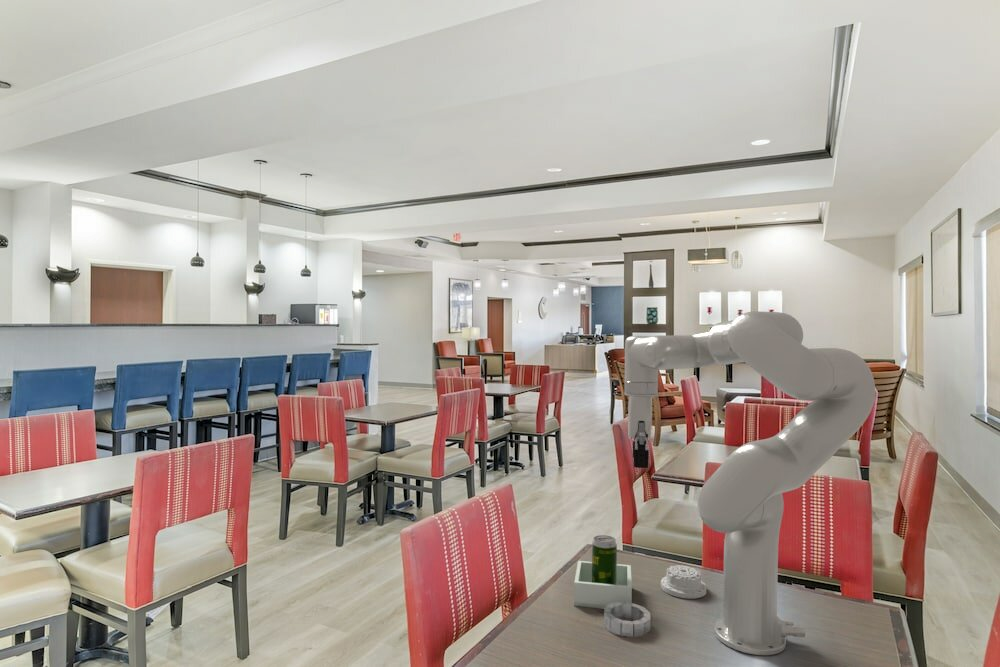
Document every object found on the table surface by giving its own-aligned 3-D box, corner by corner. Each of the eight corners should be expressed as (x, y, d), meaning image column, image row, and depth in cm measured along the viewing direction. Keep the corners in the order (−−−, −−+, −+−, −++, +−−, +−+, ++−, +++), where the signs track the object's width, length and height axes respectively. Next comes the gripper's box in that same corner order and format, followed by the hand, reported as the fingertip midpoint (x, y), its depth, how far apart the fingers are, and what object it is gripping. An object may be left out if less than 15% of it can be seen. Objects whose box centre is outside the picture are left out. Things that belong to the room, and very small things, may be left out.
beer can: (610, 586, 132) (610, 534, 132) (620, 597, 127) (621, 542, 127) (588, 589, 131) (588, 535, 131) (597, 599, 126) (597, 544, 126)
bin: (630, 586, 134) (630, 565, 134) (631, 611, 123) (631, 587, 122) (578, 581, 137) (578, 560, 137) (574, 605, 125) (574, 582, 125)
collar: (649, 616, 120) (649, 604, 120) (651, 639, 112) (651, 626, 112) (604, 612, 122) (604, 600, 122) (603, 634, 113) (603, 621, 113)
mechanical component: (662, 597, 130) (709, 602, 128) (662, 577, 129) (709, 582, 128) (659, 579, 139) (703, 582, 137) (659, 560, 139) (703, 564, 137)
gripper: (624, 385, 145) (623, 454, 145) (624, 392, 128) (624, 470, 128) (655, 386, 143) (654, 455, 143) (660, 393, 126) (659, 472, 126)
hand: (640, 462), depth 136 cm, fingers open, 9 cm apart
